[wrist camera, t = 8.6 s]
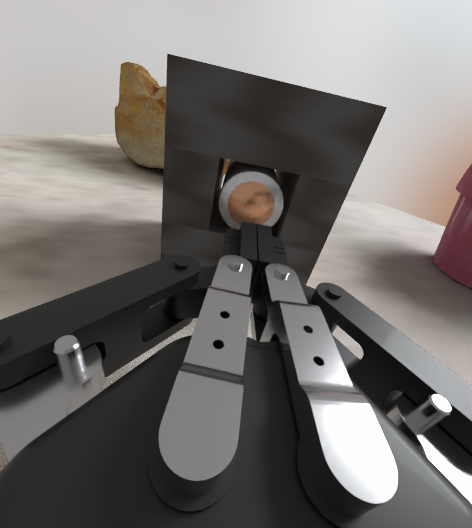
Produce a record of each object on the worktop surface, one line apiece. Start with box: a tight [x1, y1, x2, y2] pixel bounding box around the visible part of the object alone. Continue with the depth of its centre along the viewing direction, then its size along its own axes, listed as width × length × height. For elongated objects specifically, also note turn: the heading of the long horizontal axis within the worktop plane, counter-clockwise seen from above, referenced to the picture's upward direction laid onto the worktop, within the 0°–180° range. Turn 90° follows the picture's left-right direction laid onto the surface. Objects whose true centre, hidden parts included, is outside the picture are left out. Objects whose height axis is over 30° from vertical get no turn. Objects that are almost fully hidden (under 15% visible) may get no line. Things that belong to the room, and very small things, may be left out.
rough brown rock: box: [115, 62, 229, 178], centre depth 43 cm, size 23×17×15 cm
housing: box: [161, 54, 386, 285], centre depth 22 cm, size 12×10×14 cm
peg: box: [219, 160, 284, 230], centre depth 21 cm, size 4×10×4 cm, turn 178°
